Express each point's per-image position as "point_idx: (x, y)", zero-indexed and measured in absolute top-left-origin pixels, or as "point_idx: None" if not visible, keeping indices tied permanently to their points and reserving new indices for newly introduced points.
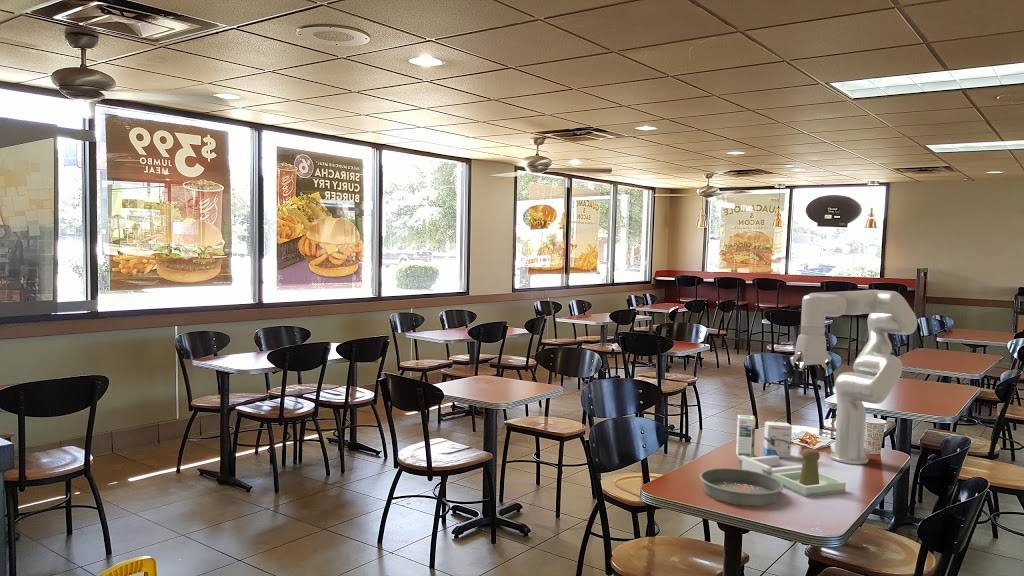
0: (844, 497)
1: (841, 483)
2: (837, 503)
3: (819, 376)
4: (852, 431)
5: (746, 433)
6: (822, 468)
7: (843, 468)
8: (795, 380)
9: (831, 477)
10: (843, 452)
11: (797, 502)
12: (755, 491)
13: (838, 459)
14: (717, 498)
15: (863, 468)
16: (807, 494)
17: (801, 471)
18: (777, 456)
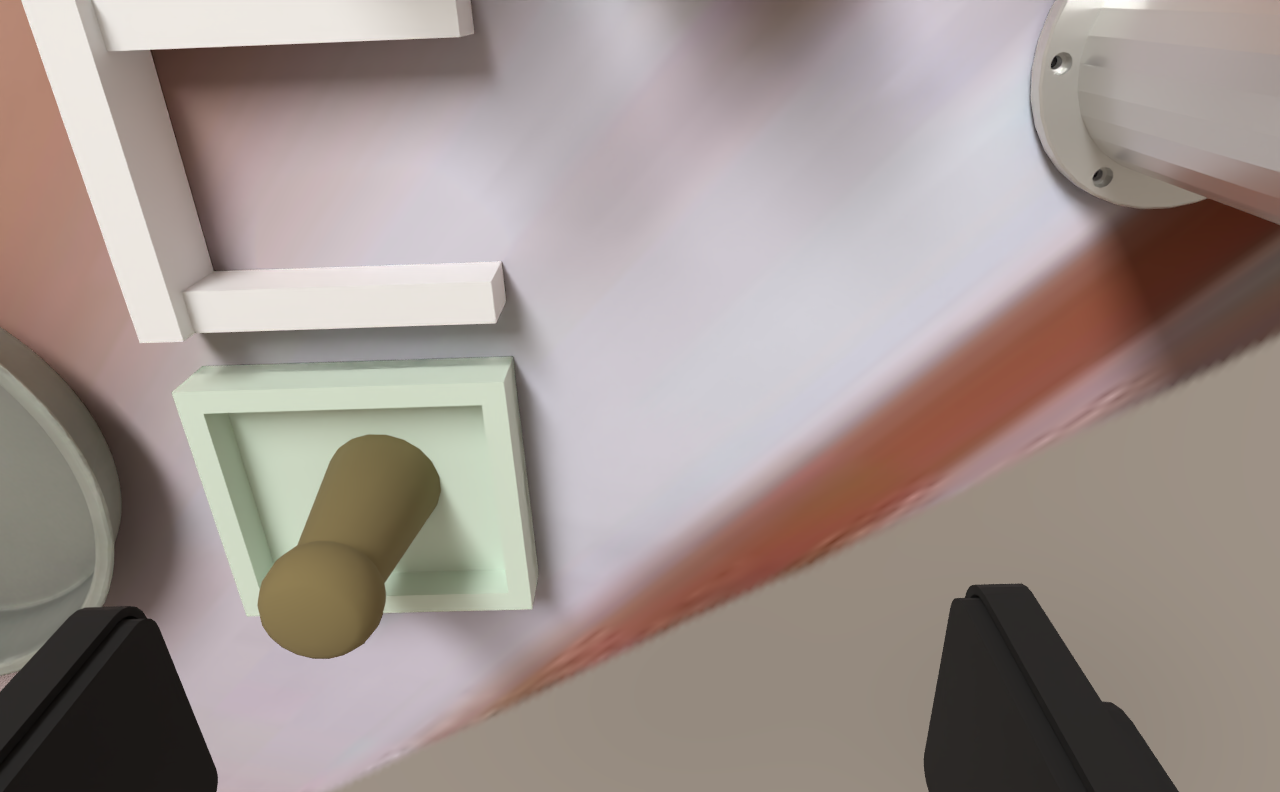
0: (474, 624)
1: (501, 607)
2: (381, 668)
3: (985, 763)
4: (1264, 212)
5: None
6: (759, 198)
7: (912, 238)
8: (87, 636)
9: (513, 532)
10: (1107, 110)
11: (187, 620)
12: (24, 457)
13: (1036, 95)
14: None
15: (1053, 275)
16: None
17: (313, 504)
18: (445, 27)
